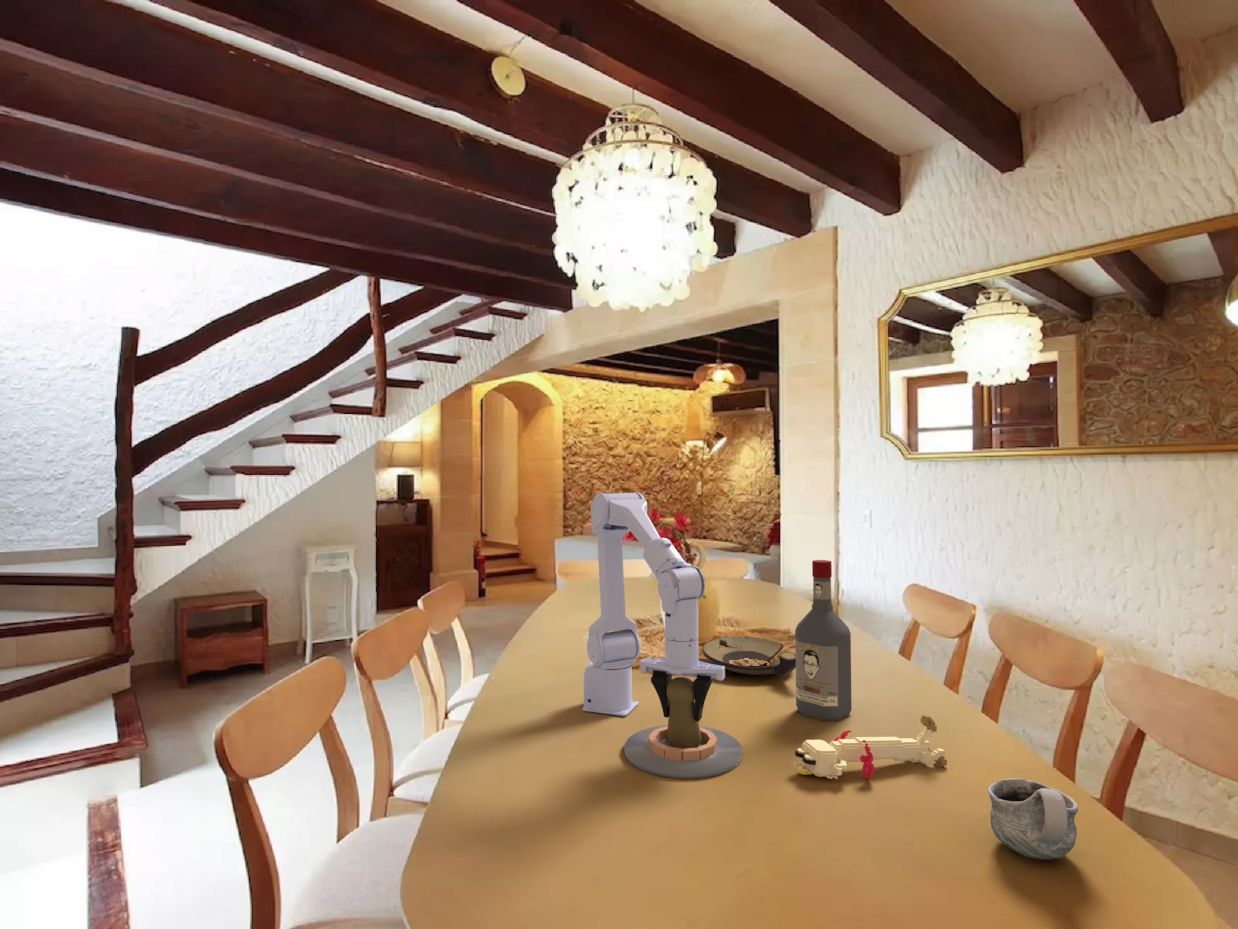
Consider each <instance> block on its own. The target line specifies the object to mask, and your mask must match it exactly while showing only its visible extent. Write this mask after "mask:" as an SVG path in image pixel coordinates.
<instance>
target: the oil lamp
mask: <svg viewBox="0 0 1238 929" xmlns="http://www.w3.org/2000/svg"><path fill="white" fill-rule="evenodd" d="M722 646H723V647H722ZM783 648H784V644H783V643H782V642H778V641H776V640H773V639H767V638H763V637H756V636H753V637H752V636H749V637H748V636H723V637H719V638H718V637H717V638H712V639H711V640H709V641H707V642H706V643H705V644H703V645H702V650H701V651H702V654H703V656H704V657H705V658H706V659H708V661H711V662H712V663H713V664H714V665H719V666H725V670H728V671H731V672H734V673H736V674H742V675H747V676H748V675H750V676H762V675H771V674H772V675H776V676H779V677H786V676H788V675H790V673H792V672H793V671H794V670H796V653H791V652H786V653H785V652H784V653H782V654H780V655H779V659H775V660H773V659H774V658H775V657H776V656H777V655H778V654H779V653H780V652H781V651H782V650H783ZM744 658H749V659H757V660H764V661H769V662H768V663H769V666H766V665H761V666H755V667H753V666H752V667H751V666H740V665H734V664H730V663H729V660H739V659H744ZM771 660H773V661H771Z"/></svg>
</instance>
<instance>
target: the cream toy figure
mask: <svg viewBox="0 0 1238 929" xmlns="http://www.w3.org/2000/svg"><path fill="white" fill-rule="evenodd" d="M920 723H921V725H923V726H924V727H925V728H924V729H923V730H922V731H921V732H920V733H919V735H918V736H916V739H914V738H910V737H909V738H900V737H897V736H855V737H854V738H850V739H849V738H847V739H846V737H848V735H849V733H850V734H851V733H852V730H851V729H848V730H844V731H843V732H842V733H841V734H840V736H837V737H836V738H835V739H834V741H833V740H831V741H830V742H829V743H828V742H827V741H825V739H824V740H822V739H805V741H804V742H803V743H801V747H799V748H797V749H796V750H795V751H794V755H795V756H796V757H797V758H800V759H801V760H800V761H801V763H798V762H797V761H793V762H792V765H793V766H796V767H797V773H799V774H800V775H805V776H806V775H814V776H816V777H818V778H820V777H825V778H827V779H830V780H833V779H835V780H838V776H842V771H843V770H848V766H849V765H848V763H863V764H862V768H861V769H862V772H863V773H864V774H865V775H864V776H862V777H863V778H865V779H866V780H868V779H869V778H873V775H874V774H875V773H876V772H875V770H876V767H875V765H874V763H873V762H874V761H875V760H876V761H877V760H893V761H895V762H901V761H902V762H910V763H922V764H923V765H932V764H933V762H935V763H934V764H935V765H936V766H937V767H938V768H939V767H946V766H948V764H947V763H948V760H947V759H946V757H945V753H946V752H945V750H944V749H942V748H936V749H935V750H931V749H930V746H931V742H930V741H929V740H928V739H929V738H932V736H933V735H934V734H935V733H936V732H937V725H936V722H935V721H934V720H933V718H932V717H931V716H930V715H928V714H922V716H920Z"/></svg>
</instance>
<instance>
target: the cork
mask: <svg viewBox="0 0 1238 929" xmlns="http://www.w3.org/2000/svg"><path fill="white" fill-rule="evenodd" d="M693 681H694V680H692V679H691V678H688V677H687V676H685V677H684V676H678V677H674V678H672V679H671V680H670V681H669V683H668V684H667V687H666V694H667V697H668V699H669V700H670V705H669V717H668V718H667V720H668V721H667V725H668V730H667V741H668V743H669V744H670V745H671V746H672V747H675V748H681V749H685V748H694V747H696V746H697V745H698V744H699V743H700V742H701V740H702V738H701V732H700V727H699V726H700V723H699V722H700V721H699V722H698V721H695V718H694V712H695V698H694V689H693Z"/></svg>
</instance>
